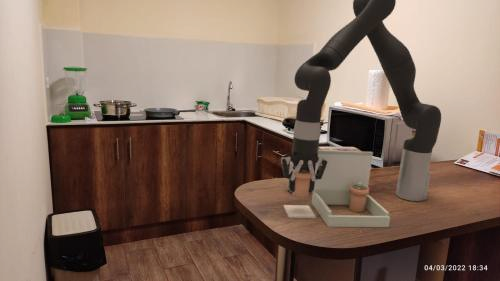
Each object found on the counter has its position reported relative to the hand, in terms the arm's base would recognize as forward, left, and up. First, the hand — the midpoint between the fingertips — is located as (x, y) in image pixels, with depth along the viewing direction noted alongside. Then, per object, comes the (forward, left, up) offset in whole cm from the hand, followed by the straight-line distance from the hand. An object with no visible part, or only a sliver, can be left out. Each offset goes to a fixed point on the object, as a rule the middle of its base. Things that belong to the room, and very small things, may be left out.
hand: (300, 191), depth 110 cm
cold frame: (-15, +1, -7) cm, 16 cm away
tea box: (-20, -23, -7) cm, 31 cm away
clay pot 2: (-20, -3, -7) cm, 21 cm away
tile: (0, 0, -7) cm, 7 cm away
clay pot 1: (0, 0, -1) cm, 1 cm away
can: (-4, -18, -7) cm, 20 cm away
